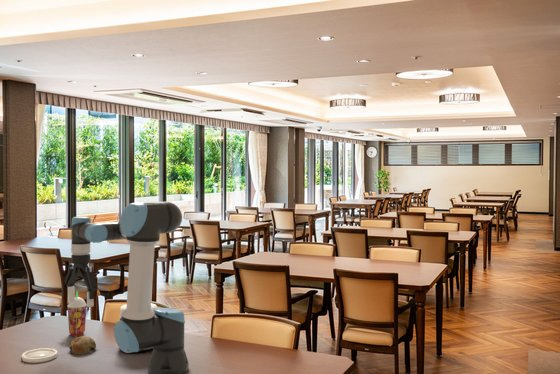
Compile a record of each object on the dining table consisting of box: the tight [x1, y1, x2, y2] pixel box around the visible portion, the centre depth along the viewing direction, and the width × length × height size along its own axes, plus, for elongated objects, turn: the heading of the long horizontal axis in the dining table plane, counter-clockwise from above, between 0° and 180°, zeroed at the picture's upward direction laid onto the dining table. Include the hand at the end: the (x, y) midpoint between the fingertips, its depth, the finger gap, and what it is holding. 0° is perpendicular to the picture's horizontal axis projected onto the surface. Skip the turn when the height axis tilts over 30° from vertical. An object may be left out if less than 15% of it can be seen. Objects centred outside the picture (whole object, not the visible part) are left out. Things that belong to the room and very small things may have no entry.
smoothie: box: [67, 290, 88, 337], centre depth 256 cm, size 8×8×20 cm
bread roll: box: [68, 335, 97, 355], centre depth 233 cm, size 10×10×8 cm
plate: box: [21, 347, 58, 364], centre depth 224 cm, size 13×13×2 cm
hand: (80, 304), depth 233 cm, fingers open, 13 cm apart
